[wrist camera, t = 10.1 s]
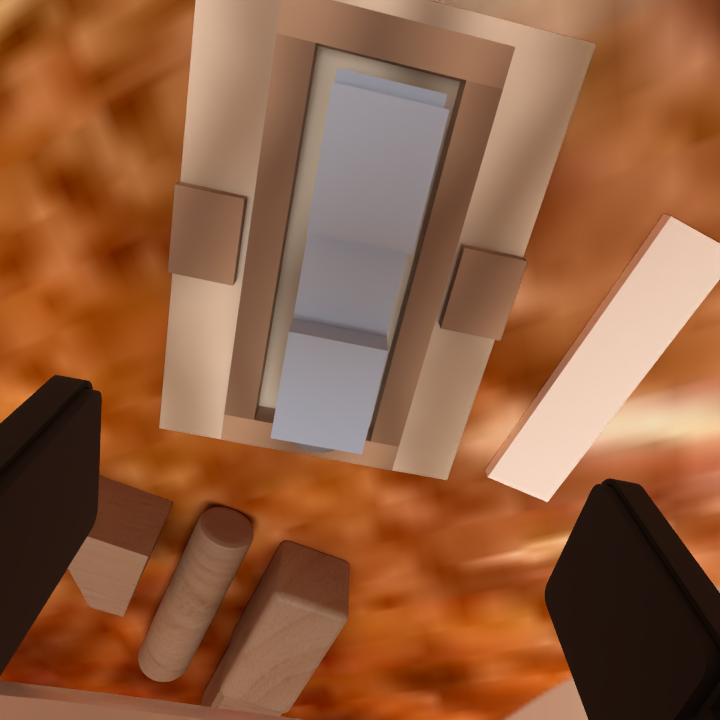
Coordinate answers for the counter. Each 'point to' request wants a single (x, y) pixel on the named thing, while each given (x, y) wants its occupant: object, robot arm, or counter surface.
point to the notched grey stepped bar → (356, 256)
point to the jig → (294, 196)
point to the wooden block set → (216, 599)
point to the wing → (609, 357)
